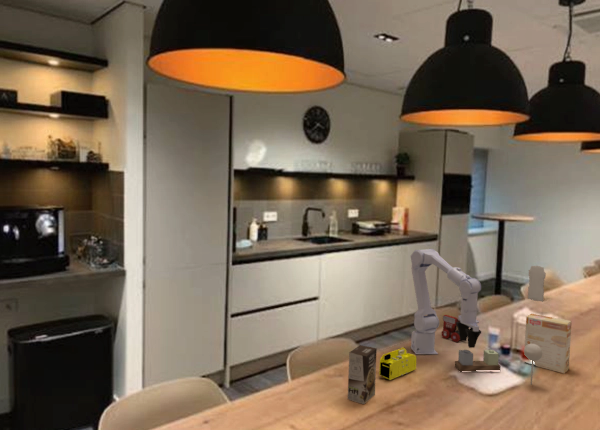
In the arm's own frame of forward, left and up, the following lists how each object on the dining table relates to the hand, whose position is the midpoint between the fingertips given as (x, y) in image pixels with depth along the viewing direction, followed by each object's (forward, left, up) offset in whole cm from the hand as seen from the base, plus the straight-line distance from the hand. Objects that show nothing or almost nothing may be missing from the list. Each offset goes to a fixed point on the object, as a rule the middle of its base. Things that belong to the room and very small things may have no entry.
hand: (467, 343), depth 179 cm
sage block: (+9, -1, -7) cm, 12 cm away
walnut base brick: (+4, -1, -10) cm, 11 cm away
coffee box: (-46, -23, -10) cm, 53 cm away
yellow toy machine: (-29, -5, -10) cm, 31 cm away
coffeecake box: (+34, +3, -10) cm, 36 cm away
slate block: (-1, -1, -7) cm, 8 cm away
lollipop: (+18, -14, -10) cm, 25 cm away
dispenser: (+93, +110, -10) cm, 144 cm away
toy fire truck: (+9, +35, -10) cm, 37 cm away
